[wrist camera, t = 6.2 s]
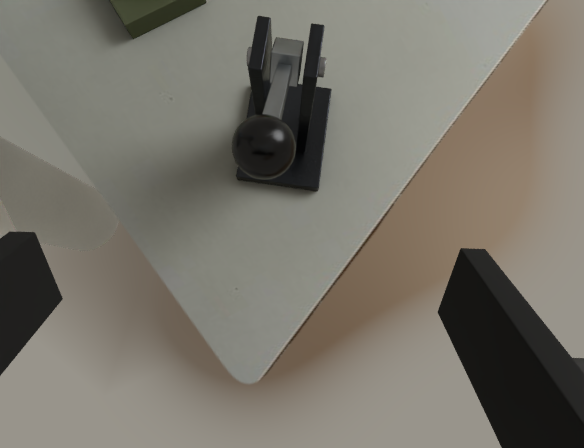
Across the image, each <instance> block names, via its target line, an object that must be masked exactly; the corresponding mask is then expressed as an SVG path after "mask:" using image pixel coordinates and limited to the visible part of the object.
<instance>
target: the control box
mask: <svg viewBox="0 0 584 448" xmlns="http://www.w3.org/2000/svg"><path fill="white" fill-rule="evenodd" d="M109 1H110V2H111V4H112V5H113V7H114V9H115V10H116V12H117V14H118V15H119V17H120V19H121V20H122V22H123V23H124V25H125V27H126V28H127V30H128V32H129V33H130V35H131V36H132V38H133V39H134V38H136V37H138V36H140V35H142V34H144V33H146V32H148V31H150V30H152V29H154V28H156V27H158V26H160V25H162V24H164V23H166V22H168V21H170V20H172V19H174V18H176V17H178V16H180V15H182V14H184V13H186V12H188V11H190V10H192V9H194V8H196V7H198V6H200V5H202V4H204V3H206V0H109Z"/></svg>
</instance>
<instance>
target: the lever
mask: <svg viewBox="0 0 584 448" xmlns="http://www.w3.org/2000/svg"><path fill="white" fill-rule="evenodd" d="M303 45H304V42H303V41H299V40H292V39H285V38H278V37H276V39H275V42H274V45H273V48H272V50H271V58H270V80H269V82H270V83H271V87H270V90H269V94H268V97H267V100H266V104H265V107H264V110H263V113H262V114H259V115H254V116H251V117H249V118H247V119H246V120H244V121H243V122H242V123H241V124H240V125H239V126H238V128H237V129H236V131H235V133H234V136H233V140H232V153H233V157H234V159H235V161H236V163H237V165H238V166H239V168H240V169H241V170H242V171H243V172H244V173H246V174H247V175H249V176H251V177H253V178H256V179H265V180H266V179H272V178H275V177H278V176H280V175H281V174H283V173H284V172H285V171H286V170H287V169H288V168H289V167H290V165H291V164H292V162H293V160H294V157H295V152H296V143H295V138H294V135H293V133H292V131H291V129H290V128H289V126H288V125H287V124H286V123H285V122H284V121H282V120H281V119H282V115H283V110H284V106H285V102H286V97H287V93H288V89H289V86H292V87H297V86H298V81H299V76H300V71H301V62H302V53H303Z"/></svg>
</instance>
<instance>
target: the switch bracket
mask: <svg viewBox="0 0 584 448" xmlns="http://www.w3.org/2000/svg"><path fill="white" fill-rule="evenodd" d="M323 33H324V25H319V24H311V28H310V35H309V42H308V49H307V55H306V62H305V69H304V76H303V85H300V84H298V86H297V87H292V86H289V89H288V93H287V97H286V102H285V106H284V110H283V115H282V119H281V120H282V121H284V122H285V123H286V124H287V125H288V126H289V128H290V129H291V131H292V133H293V135H294V138H295V143H296V152H295V157H294V160H293V162H292V164H291V165H290V167H289V168H288V169H287V170H286V171H285V172H284V173H283V174H281V175H280V176H278V177H275V178H272V179H266V180H265V179H256V178H253V177H251V176H249V175H247V174H246V173H244V172H243V171H242V170H241V169H240V168H239V166H238V169H237V175H236V177H237V179H238V180H242V181H249V182H256V183H263V184H270V185H277V186H284V187H291V188H298V189H305V190H312V191H318V188H319V182H320V174H321V166H322V158H323V151H324V143H325V135H326V127H327V120H328V112H329V104H330V97H331V89H328V88H321V87H316V83H317V77H324V72H325V65H326V58H325V57H320V55H321V48H322V41H323ZM271 50H272V36H271V18H269V17H262V16H258V17H257V22H256V28H255V33H254V38H253V44H252V47H249V48H248V51H247V66H248V70H249V77H250V83H251V90H252V91H251V97H250V102H249V108H248V113H247V118H249V117H251V116H254V115H259V114H262V113H263V110H264V107H265V104H266V100H267V97H268V94H269V90H270V87H271V83H270V82H269V80H270V58H271Z"/></svg>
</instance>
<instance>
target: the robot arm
mask: <svg viewBox="0 0 584 448" xmlns="http://www.w3.org/2000/svg"><path fill="white" fill-rule="evenodd" d="M61 300H62V296H61V294H60V291H59V289H58V287H57V284H56V282H55V279H54V277H53V275H52V272H51V270H50V268H49V265H48V263H47V260H46V258H45V255H44V253H43V251H42V248H41V246H40V243H39V241H38V239H37V236H36V234H35V232H8V233H7V234H6V235H4V236H3V237H2V238H1V239H0V375H1V374H2V373H3V371H4V370H5V369H6V368H7V367H8V365H9V364H10V363H11V362H12V361H13V359H14V358H15V357H16V356H17V354H18V353H19V352H20V351H21V349H22V348H23V347H24V346H25V345H26V343H27V342H28V341H29V340H30V338H31V337H32V336H33V335H34V333H35V332H36V331H37V330H38V328H39V327H40V326H41V325H42V324H43V322H44V321H45V320H46V319H47V317H48V316H49V315H50V314H51V313H52V311H53V310H54V309H55V307H57V305H58V304H59V303H60V302H61ZM438 314H439V316H440V318H441V320H442V322H443V324H444V327H445V329H446V330H447V333H448V335H449V337H450V339H451V341H452V343H453V345H454V348H455V350H456V352H457V354H458V356H459V358H460V360H461V362H462V365H463V366H464V369H465V371H466V373H467V375H468V377H469V379H470V381H471V384H472V386H473V388H474V390H475V392H476V394H477V396H478V398H479V400H480V403H481V405H482V407H483V408H484V411H485V413H486V415H487V417H488V419H489V422H490V424H491V426H492V428H493V430H494V432H495V434H496V436H497V439H498V441H499V443H500V445H501V447H502V448H584V358H572V357H571V356H570V355H569V354H568V352H567V351H566V350H565V349H564V347H563V346H562V345H561V344H560V342H559V341H558V340H557V339H556V338H555V336H554V335H553V334H552V332H551V331H550V330H549V329H548V327H547V326H546V325H545V324H544V322H543V321H542V320H541V319H540V317H539V316H538V315H537V314H536V313H535V311H534V310H533V309H532V307H531V306H530V305H529V304H528V302H527V301H526V300H525V299H524V297H523V296H522V295H521V294H520V293H519V291H518V290H517V289H516V287H515V286H514V285H513V284H512V282H511V281H510V280H509V279H508V277H507V276H506V275H505V274H504V272H503V271H502V270H501V269H500V267H499V266H498V265H497V264H496V262H495V261H494V260H493V259H492V257H491V256H490V255H489V253H488V252H487V251H486V250H485V249H464V248H461V249H460V252H459V255H458V257H457V260H456V263H455V266H454V268H453V271H452V274H451V276H450V279H449V282H448V285H447V288H446V290H445V293H444V296H443V299H442V301H441V305H440V307H439V310H438Z"/></svg>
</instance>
